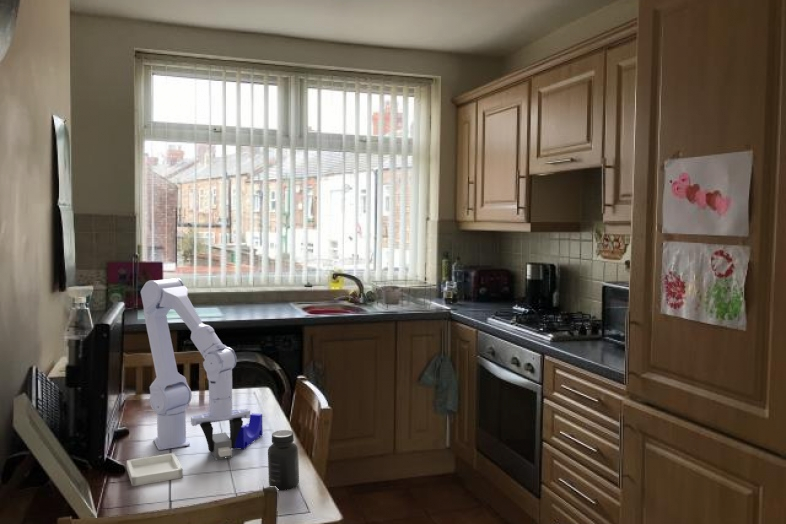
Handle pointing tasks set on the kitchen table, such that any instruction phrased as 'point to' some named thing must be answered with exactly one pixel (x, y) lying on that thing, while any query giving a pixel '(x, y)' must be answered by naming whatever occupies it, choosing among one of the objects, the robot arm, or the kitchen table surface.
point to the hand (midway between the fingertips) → (221, 449)
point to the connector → (221, 446)
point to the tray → (154, 469)
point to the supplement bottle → (283, 461)
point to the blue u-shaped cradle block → (249, 431)
